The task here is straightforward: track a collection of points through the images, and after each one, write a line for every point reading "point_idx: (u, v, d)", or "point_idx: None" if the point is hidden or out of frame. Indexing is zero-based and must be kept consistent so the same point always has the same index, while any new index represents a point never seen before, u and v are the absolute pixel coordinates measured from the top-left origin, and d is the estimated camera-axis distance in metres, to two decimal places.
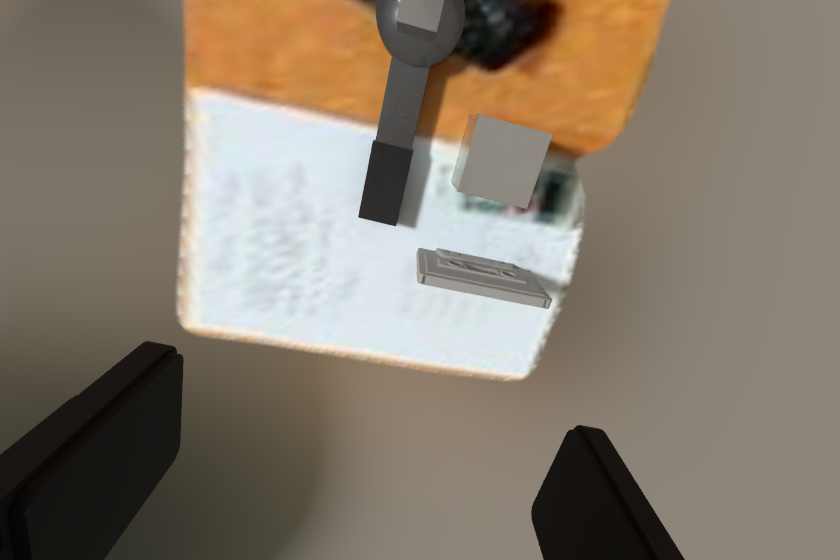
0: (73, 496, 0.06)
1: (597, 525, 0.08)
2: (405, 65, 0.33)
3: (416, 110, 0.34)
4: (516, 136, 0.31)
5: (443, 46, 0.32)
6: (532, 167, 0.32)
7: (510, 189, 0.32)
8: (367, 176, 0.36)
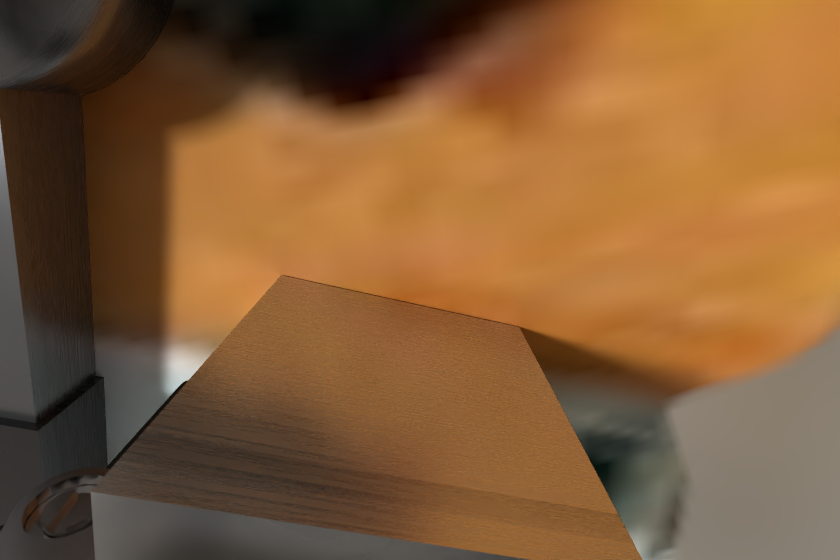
0: None
1: None
2: None
3: (6, 289, 0.08)
4: None
5: None
6: None
7: None
8: None
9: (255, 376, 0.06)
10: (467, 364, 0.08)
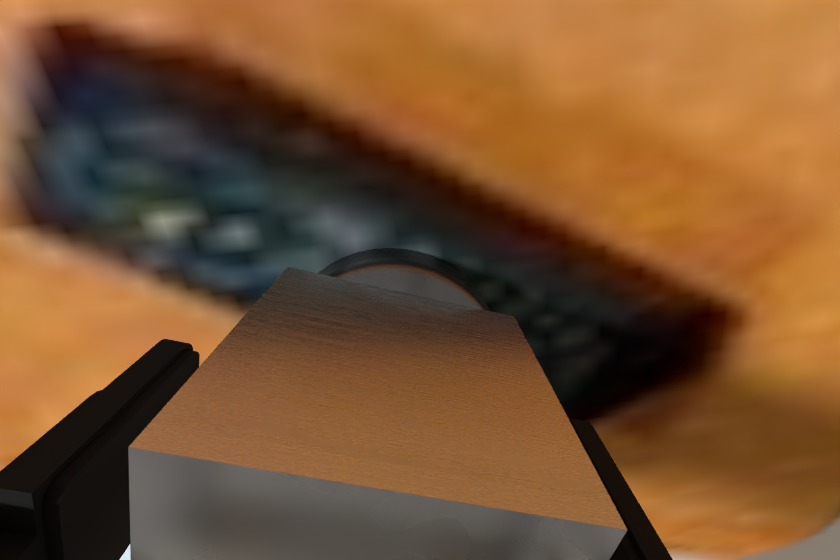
0: (100, 488, 0.06)
1: None
2: None
3: None
4: (404, 542, 0.05)
5: None
6: None
7: None
8: None
9: (267, 355, 0.06)
10: (463, 348, 0.08)
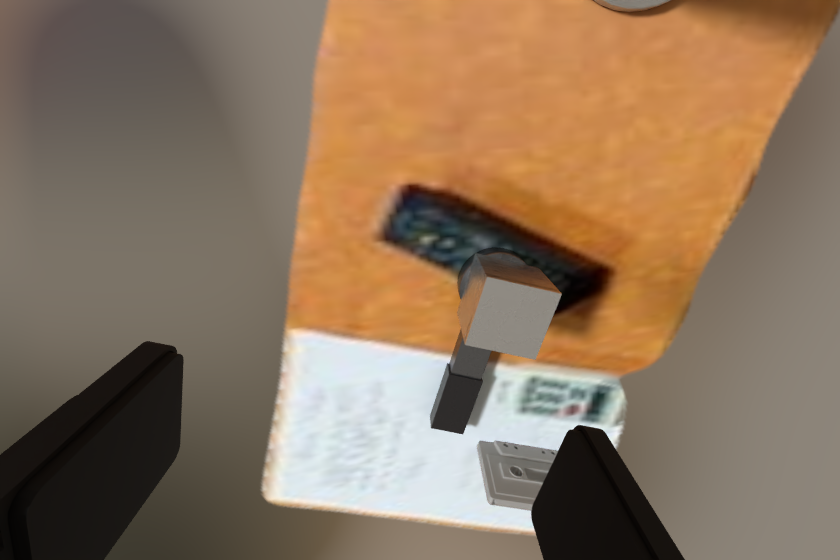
0: (73, 496, 0.06)
1: (597, 525, 0.08)
2: None
3: (488, 353, 0.40)
4: (525, 296, 0.30)
5: None
6: (541, 323, 0.31)
7: (518, 342, 0.32)
8: (441, 399, 0.41)
9: (491, 269, 0.32)
10: (528, 272, 0.34)
